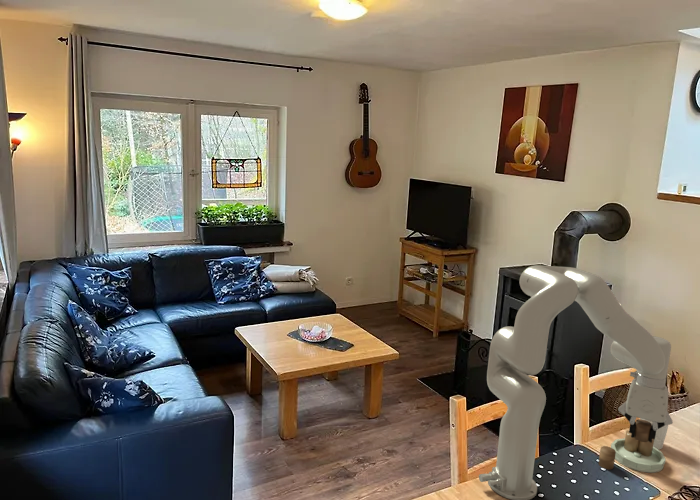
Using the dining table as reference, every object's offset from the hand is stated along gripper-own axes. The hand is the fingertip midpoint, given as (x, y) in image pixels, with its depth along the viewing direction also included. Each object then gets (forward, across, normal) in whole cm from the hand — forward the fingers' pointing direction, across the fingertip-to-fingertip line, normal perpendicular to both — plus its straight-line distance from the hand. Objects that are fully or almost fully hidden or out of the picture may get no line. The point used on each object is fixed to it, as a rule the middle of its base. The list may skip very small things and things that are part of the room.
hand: (641, 437), depth 154 cm
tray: (+9, 0, +3) cm, 9 cm away
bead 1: (+9, -8, -6) cm, 13 cm away
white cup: (+9, +3, +15) cm, 18 cm away
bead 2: (0, 0, 0) cm, 0 cm away
